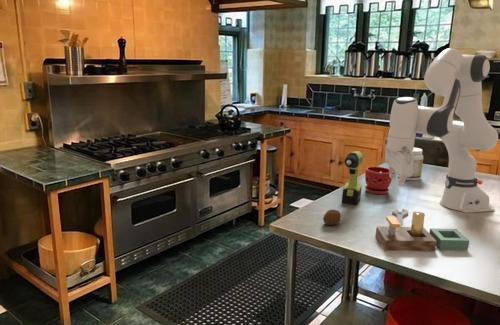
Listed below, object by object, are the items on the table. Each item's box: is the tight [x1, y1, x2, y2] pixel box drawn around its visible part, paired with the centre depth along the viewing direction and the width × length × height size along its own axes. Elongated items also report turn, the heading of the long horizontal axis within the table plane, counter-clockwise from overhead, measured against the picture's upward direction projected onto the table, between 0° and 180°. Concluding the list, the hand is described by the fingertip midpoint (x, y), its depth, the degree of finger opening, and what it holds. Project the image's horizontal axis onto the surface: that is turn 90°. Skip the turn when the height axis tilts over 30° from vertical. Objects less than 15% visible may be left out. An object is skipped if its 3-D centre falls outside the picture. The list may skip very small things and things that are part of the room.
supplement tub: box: [397, 146, 424, 182], centre depth 230 cm, size 12×12×17 cm
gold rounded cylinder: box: [410, 211, 426, 237], centre depth 150 cm, size 4×4×12 cm
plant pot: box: [364, 166, 393, 195], centre depth 207 cm, size 13×13×12 cm
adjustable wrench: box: [391, 208, 409, 227], centre depth 172 cm, size 25×6×2 cm, turn 153°
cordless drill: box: [341, 150, 364, 206], centre depth 188 cm, size 23×7×25 cm, turn 155°
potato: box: [322, 208, 342, 226], centre depth 168 cm, size 7×10×6 cm
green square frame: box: [428, 227, 470, 252], centre depth 151 cm, size 10×10×4 cm
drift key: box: [385, 216, 400, 236], centre depth 150 cm, size 3×7×6 cm, turn 178°
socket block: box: [375, 225, 437, 252], centre depth 151 cm, size 18×12×4 cm, turn 88°
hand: (396, 181), depth 146 cm, fingers open, 8 cm apart
